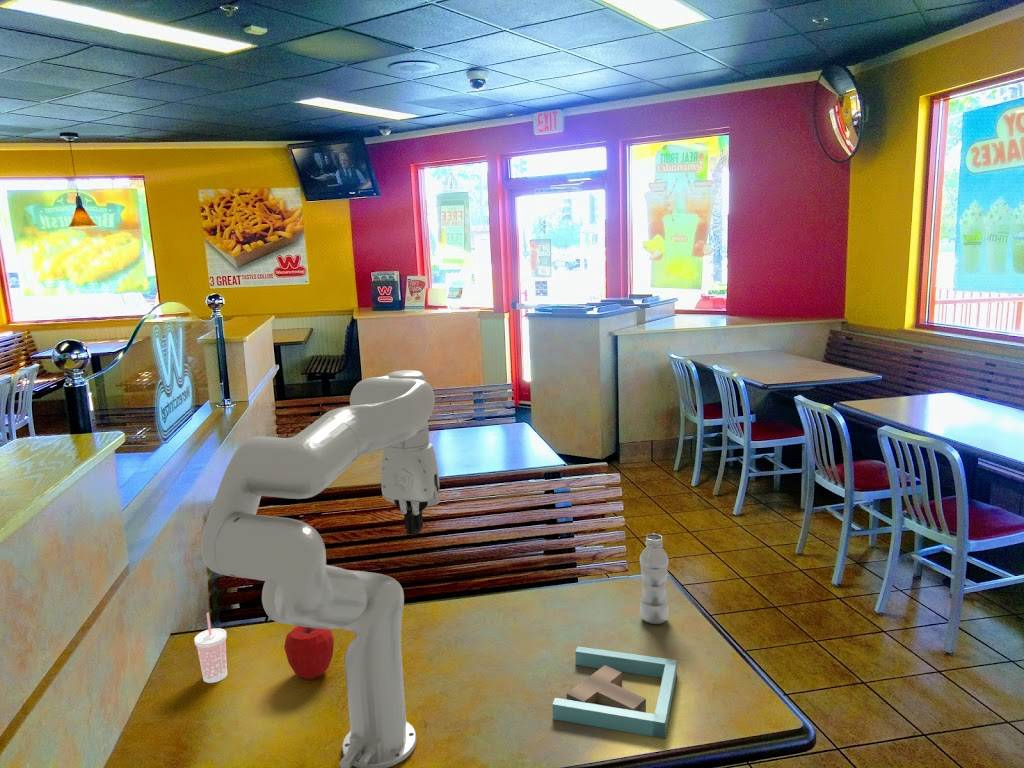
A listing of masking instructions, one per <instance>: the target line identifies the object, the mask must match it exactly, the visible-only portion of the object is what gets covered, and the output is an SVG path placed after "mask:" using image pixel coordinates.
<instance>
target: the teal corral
mask: <svg viewBox="0 0 1024 768" xmlns="http://www.w3.org/2000/svg"><path fill="white" fill-rule="evenodd" d="M574 653H575V665H576V666H579V667H589V668H592V669H593V668H595V669H600V668H602V667H603V666H604V665H606V666H608V667H610V668H613V669H615V670H617V671H619V672H622V673H628V674H633V675H641V676H649V677H654V678H661V683H660V686H659V687H660V688H659V693H658V696H657V701H656V705H655V711H654V713H650V712H646V713H645V712H639V711H633V710H627V709H621V708H615V707H609V706H603V705H597V704H591V703H585V702H579V701H573V700H567V698H561V697H560V698H559V697H555V698H554V699H553V701H552V704H551V705H552V720H557V721H563V722H567V723H568V722H569V723H572V724H573V723H574V724H580V725H583V726H590V727H597V728H602V729H608V730H614V731H620V732H625V733H631V734H636V735H642V736H647V737H654V738H658V739H660V738H661V739H666V734H667V730H668V723H669V718H670V712H671V708H672V707H671V706H672V701H673V697H674V696H673V695H674V691H675V684H676V679H677V673H678V672H677V668H678V667H677V666H678V663H677V662H678V661H677V659H670V658H663V657H658V656H657V657H655V656H649V655H641V654H635V653H628V652H627V653H626V652H620V651H615V650H613V651H612V650H606V649H599V648H592V647H584V646H577V647H576V649H575V652H574Z"/></svg>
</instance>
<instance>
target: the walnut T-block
mask: <svg viewBox="0 0 1024 768" xmlns="http://www.w3.org/2000/svg"><path fill="white" fill-rule="evenodd" d="M566 700H573V701H579V702H585V703H591V704H597V705H603V706H609V707H615V708H621V709H627V710H633V711H639V712H645V713H647V698H645V697H644V696H641V695H639V694H637V693H635V692H632V691H630V690H629V689H626V688H624V687H623V672H620V671H617V670H615V669H613V668H610V667H608V666H606V665H604V666H603V667H602V668H598V670H596V671H595V672H594V673H592V674H591V675H589V676H588V677H587V678H585V679H583V681H581V682H580V683H579V684H577V685H576V686H574V687H572V688H571V689H570V690H569V691H567V693H566Z"/></svg>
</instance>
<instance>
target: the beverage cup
mask: <svg viewBox="0 0 1024 768" xmlns="http://www.w3.org/2000/svg"><path fill="white" fill-rule="evenodd" d="M206 621H207V629H206V630H203V631H201V632H198V634H197V635H195V637H194V638H193V639H194V645H195V646H196V650H197V653H198V654H197V655H198V660H199V665H200V669H201V674H202V675H201V676H202V679H203V682H205V683H206V684H207V683H208V684H213V683H214V684H215V683H218V682H220V681H222V680H224V679H225V678H226V677H227V676H228V662H227V642H226V639H227V638H228V636H227V635H228V634H227V630H225V629H224V628H219V627H218V628H212V627H211V618H210V612H206Z"/></svg>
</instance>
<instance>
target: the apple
mask: <svg viewBox="0 0 1024 768" xmlns="http://www.w3.org/2000/svg"><path fill="white" fill-rule="evenodd" d="M334 645H335V637H334V635H333V631H332V629H317V628H309V627H302V626H295V627H294V628H292V629H291V631H289V632H288V633H287V634H286V636H285V641H284V647H283V648H284V651H285V656H286V659H287V662H288V664H289V666H290V667H291V669H292V670H293V672H294V674H295V675H297V676H298V677H300V678H302V679H304V680H308V681H310V680H314V678H315V679H317V678H318V677H320V676H321V675H322V674H324V673H325V672H326V671H327V670H328V669H329V667H330V664H331V662H332V658H333V655H334Z"/></svg>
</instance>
